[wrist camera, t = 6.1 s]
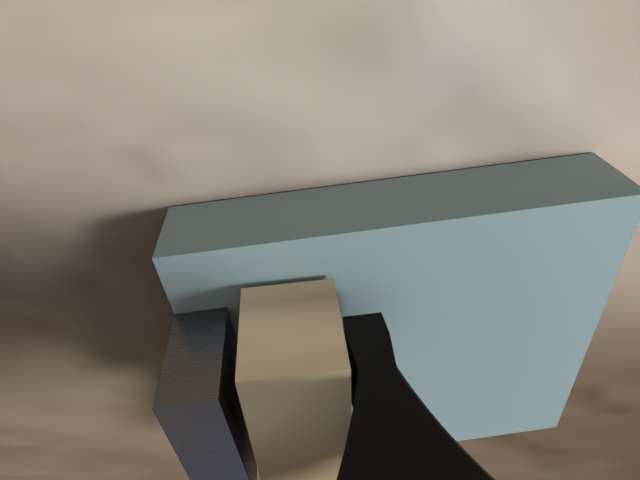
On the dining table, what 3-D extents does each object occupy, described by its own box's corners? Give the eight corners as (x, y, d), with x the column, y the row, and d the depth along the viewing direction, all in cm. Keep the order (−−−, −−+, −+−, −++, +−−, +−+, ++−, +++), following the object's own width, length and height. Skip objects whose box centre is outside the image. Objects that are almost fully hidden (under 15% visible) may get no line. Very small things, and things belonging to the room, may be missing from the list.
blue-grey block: (240, 416, 20) (233, 559, 15) (169, 206, 13) (121, 351, 9) (527, 375, 20) (600, 505, 16) (593, 152, 14) (750, 266, 9)
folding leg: (341, 453, 17) (355, 550, 15) (277, 461, 17) (279, 560, 15) (334, 278, 12) (352, 381, 9) (241, 288, 12) (233, 394, 9)
